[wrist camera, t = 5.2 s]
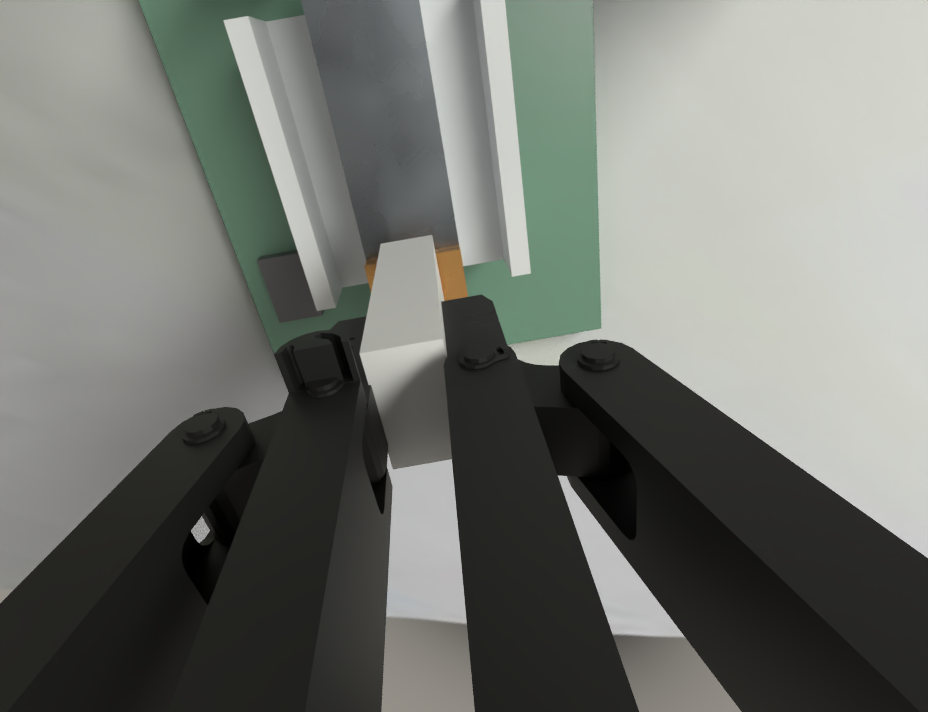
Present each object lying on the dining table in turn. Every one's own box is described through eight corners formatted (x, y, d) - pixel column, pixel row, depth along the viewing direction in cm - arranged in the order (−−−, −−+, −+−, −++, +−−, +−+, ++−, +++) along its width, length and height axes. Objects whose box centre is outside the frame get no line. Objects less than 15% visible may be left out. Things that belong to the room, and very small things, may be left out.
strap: (260, -148, 13) (236, -184, 11) (401, -173, 13) (399, -213, 11) (389, 366, 20) (387, 392, 18) (483, 350, 20) (489, 373, 18)
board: (100, -138, 17) (-222, -351, 9) (576, -223, 17) (741, -524, 8) (290, 371, 27) (231, 515, 18) (594, 318, 27) (679, 437, 18)
